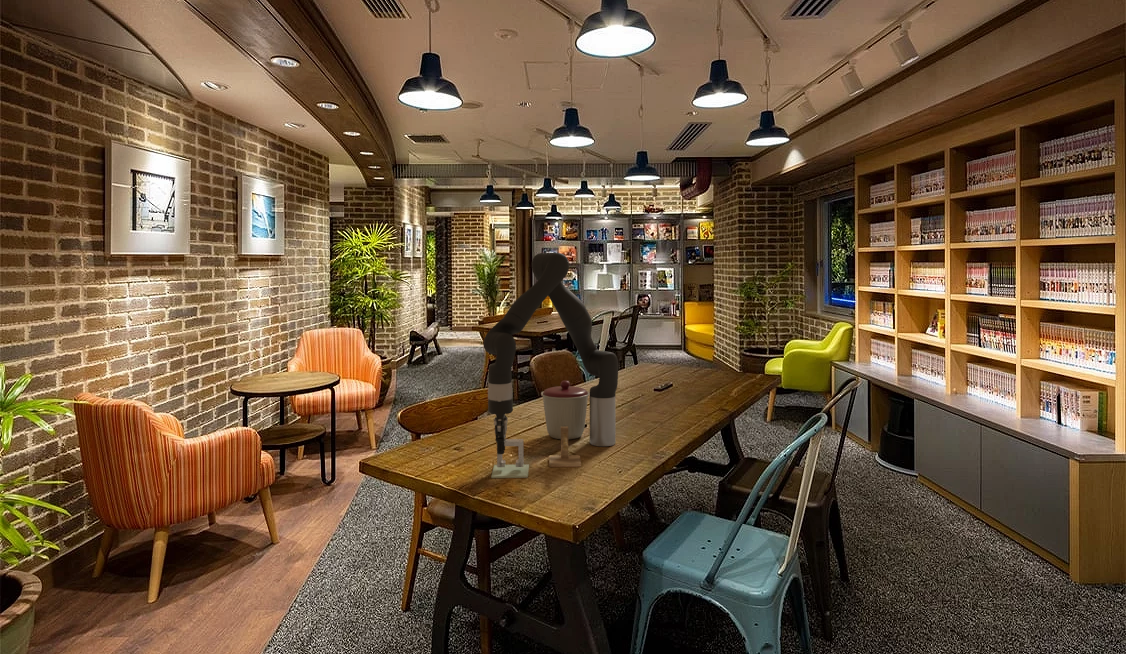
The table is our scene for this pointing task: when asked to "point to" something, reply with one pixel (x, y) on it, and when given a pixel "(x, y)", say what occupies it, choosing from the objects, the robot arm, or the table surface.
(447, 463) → the table surface
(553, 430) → the canister
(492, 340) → the robot arm
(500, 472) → the mat
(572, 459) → the stand
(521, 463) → the pinkish grey arch
